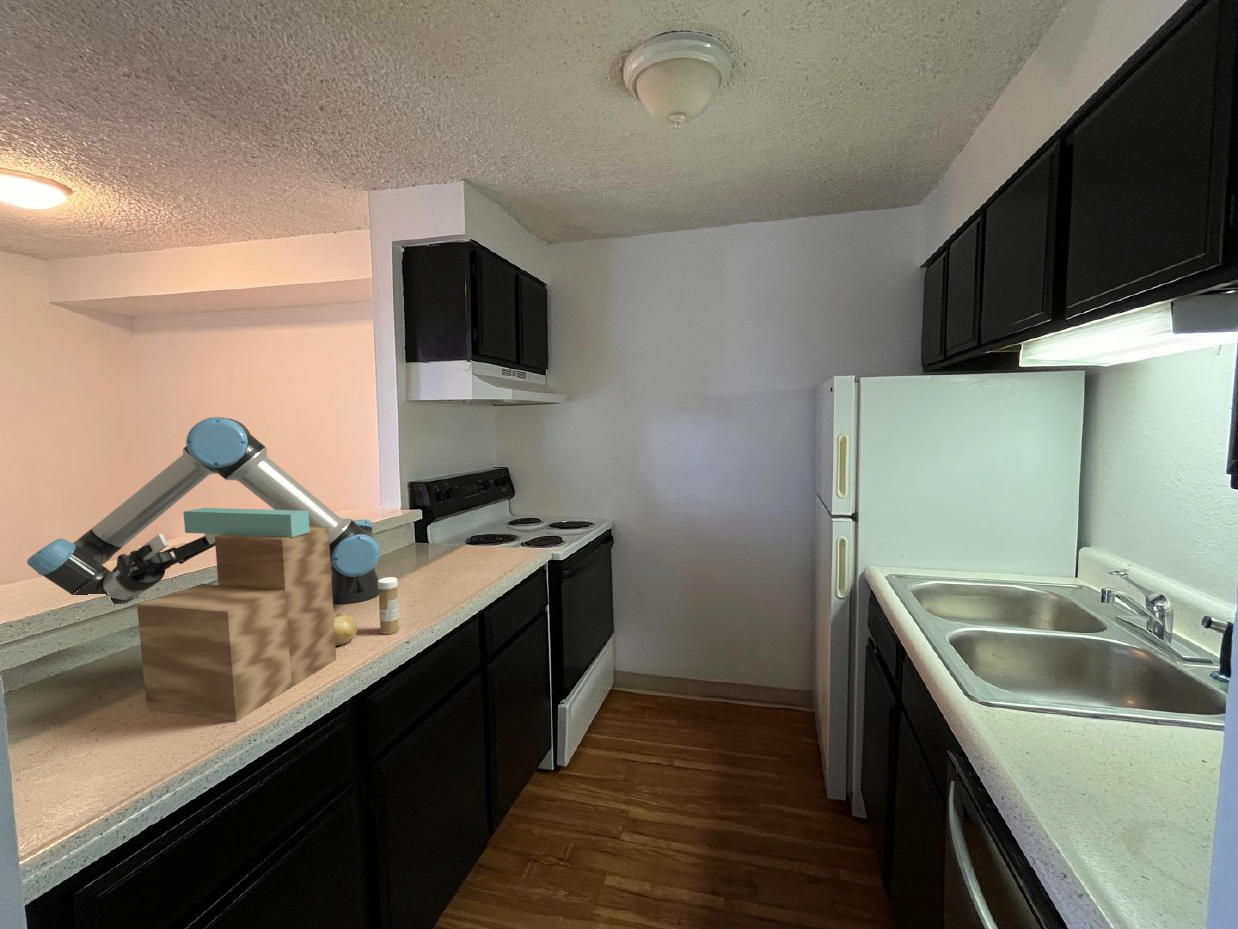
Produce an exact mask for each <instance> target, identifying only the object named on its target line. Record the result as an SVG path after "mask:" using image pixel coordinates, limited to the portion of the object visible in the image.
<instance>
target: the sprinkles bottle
mask: <svg viewBox="0 0 1238 929" xmlns="http://www.w3.org/2000/svg"><path fill="white" fill-rule="evenodd" d="M398 584H399V583H398V578H397V577H394V576H393V577H392V576H390V577H389V576H387V577H382V578H380V579H379V580H378V590H379V595H378V599H379V600H378V607H379V608H378V609H379V623H380V624H379V626H380V629H379V632H380V634H382V635H392V634H395V633H397V632H398V631H399V630H400V626H399V624H400V623H399V597H398Z"/></svg>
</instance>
